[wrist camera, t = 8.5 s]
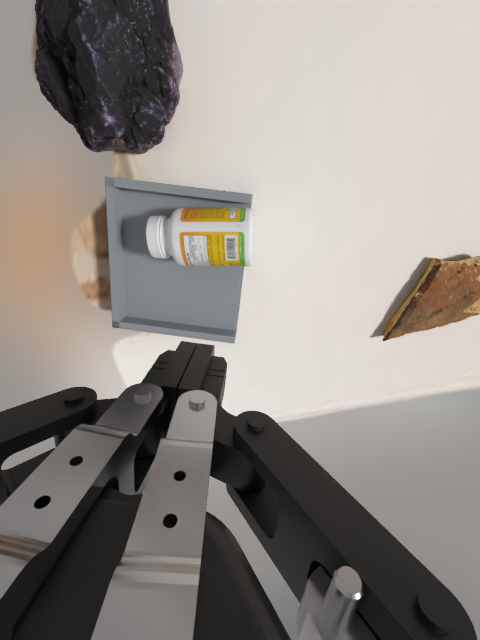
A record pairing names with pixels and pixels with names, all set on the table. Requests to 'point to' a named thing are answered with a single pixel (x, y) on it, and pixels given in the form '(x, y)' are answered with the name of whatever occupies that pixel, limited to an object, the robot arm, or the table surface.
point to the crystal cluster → (109, 69)
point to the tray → (167, 265)
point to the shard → (439, 298)
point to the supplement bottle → (203, 236)
